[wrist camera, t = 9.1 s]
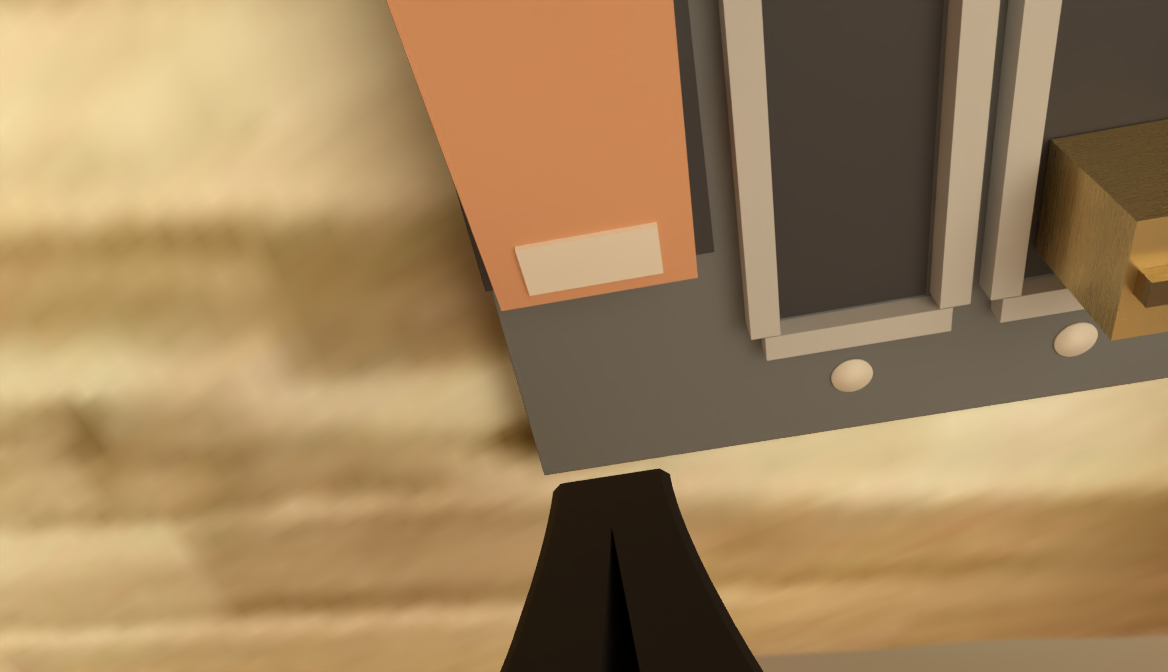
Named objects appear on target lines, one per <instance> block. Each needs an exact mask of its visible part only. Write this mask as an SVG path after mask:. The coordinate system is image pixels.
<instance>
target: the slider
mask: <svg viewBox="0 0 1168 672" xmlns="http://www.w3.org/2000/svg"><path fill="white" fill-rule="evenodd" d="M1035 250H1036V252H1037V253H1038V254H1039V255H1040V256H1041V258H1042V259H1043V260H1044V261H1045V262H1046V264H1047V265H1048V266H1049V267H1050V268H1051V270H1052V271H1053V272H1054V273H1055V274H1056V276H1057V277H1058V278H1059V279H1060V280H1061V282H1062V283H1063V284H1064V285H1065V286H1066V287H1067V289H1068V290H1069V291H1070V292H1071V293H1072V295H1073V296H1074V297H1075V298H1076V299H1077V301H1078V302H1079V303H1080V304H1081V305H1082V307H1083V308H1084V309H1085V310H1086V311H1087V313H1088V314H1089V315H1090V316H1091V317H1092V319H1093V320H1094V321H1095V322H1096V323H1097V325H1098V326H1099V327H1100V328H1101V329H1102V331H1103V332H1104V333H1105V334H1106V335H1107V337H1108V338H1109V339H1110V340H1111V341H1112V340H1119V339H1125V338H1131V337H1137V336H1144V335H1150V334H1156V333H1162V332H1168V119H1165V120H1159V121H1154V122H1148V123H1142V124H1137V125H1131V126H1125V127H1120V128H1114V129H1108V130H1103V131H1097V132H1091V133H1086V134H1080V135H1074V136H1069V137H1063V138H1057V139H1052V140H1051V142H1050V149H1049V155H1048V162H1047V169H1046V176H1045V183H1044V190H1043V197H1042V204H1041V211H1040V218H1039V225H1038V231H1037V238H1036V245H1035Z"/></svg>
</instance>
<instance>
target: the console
mask: <svg viewBox="0 0 1168 672" xmlns="http://www.w3.org/2000/svg"><path fill="white" fill-rule="evenodd" d="M673 3H674V15H675V26H676V37H677V48H678V60H679V71H680V82H681V93H682V105H683V116H684V127H685V138H686V150H687V161H688V172H689V183H690V195H691V206H692V217H693V228H694V240H695V251H696V262H697V273H698V278H693V279H688V280H682V281H676V282H670V283H664V284H658V285H652V286H646V287H641V288H635V289H629V290H623V291H617V292H611V293H605V294H599V295H594V296H588V297H582V298H576V299H570V300H564V301H558V302H553V303H547V304H541V305H535V306H529V307H523V308H517V309H511V310H506V311H501V308H500V305H499V303H498V300H497V297H496V295H495V292H494V289H493V287H492V284H491V281H490V278H489V276H488V273H487V270H486V268H485V265H484V262H483V260H482V257H481V254H480V251H479V249H478V246H477V243H476V241H475V238H474V235H473V233H472V230H471V227H470V225H469V222H468V219H467V216H466V214H465V211H464V208H463V206H462V203H461V200H460V198H459V195H458V192H457V189H456V192H457V195H458V199H459V202H460V205H461V209H462V212H463V216H464V219H465V222H466V226H467V229H468V233H469V236H470V240H471V243H472V246H473V250H474V253H475V257H476V260H477V263H478V267H479V270H480V274H481V277H482V280H483V284H484V287H485V291H491V292H492V295H493V298H494V302H495V305H496V309H497V312H498V316H499V319H500V323H501V326H502V330H503V333H504V337H505V340H506V343H507V347H508V350H509V354H510V357H511V361H512V364H513V368H514V371H515V375H516V378H517V382H518V385H519V388H520V392H521V395H522V399H523V402H524V406H525V409H526V413H527V416H528V420H529V423H530V427H531V430H532V433H533V437H534V440H535V444H536V447H537V451H538V454H539V458H540V461H541V465H542V468H543V472H544V475H550V474H556V473H562V472H569V471H575V470H582V469H588V468H594V467H601V466H607V465H613V464H620V463H626V462H633V461H639V460H645V459H652V458H658V457H665V456H671V455H677V454H684V453H690V452H696V451H703V450H709V449H716V448H722V447H728V446H735V445H741V444H747V443H754V442H760V441H767V440H773V439H779V438H786V437H792V436H799V435H805V434H811V433H818V432H824V431H830V430H837V429H843V428H850V427H856V426H862V425H869V424H875V423H881V422H888V421H894V420H901V419H907V418H913V417H920V416H926V415H933V414H939V413H945V412H952V411H958V410H964V409H971V408H977V407H984V406H990V405H996V404H1003V403H1009V402H1015V401H1022V400H1028V399H1035V398H1041V397H1047V396H1054V395H1060V394H1067V393H1073V392H1079V391H1086V390H1092V389H1098V388H1105V387H1111V386H1118V385H1124V384H1130V383H1137V382H1143V381H1149V380H1156V379H1162V378H1168V332H1162V333H1156V334H1150V335H1144V336H1137V337H1131V338H1125V339H1119V340H1112V341H1111V340H1110V339H1109V338H1108V337H1107V335H1106V334H1105V333H1104V332H1103V331H1102V329H1101V328H1100V327H1099V326H1098V325H1097V323H1096V322H1095V321H1094V320H1093V319H1092V317H1091V316H1090V315H1089V314H1088V313H1087V311H1086V310H1085V309H1084V308H1083V307H1082V305H1081V304H1080V303H1079V302H1078V301H1077V299H1076V298H1075V297H1074V296H1073V295H1072V293H1071V292H1070V291H1069V290H1068V289H1067V287H1066V286H1065V285H1064V284H1063V283H1062V282H1061V280H1060V279H1059V278H1058V277H1057V276H1056V274H1055V273H1054V272H1053V271H1052V270H1051V268H1050V267H1049V266H1048V265H1047V264H1046V262H1045V261H1044V260H1043V259H1042V258H1041V256H1040V255H1039V254H1038V253H1037V252H1036V250H1035V245H1036V238H1037V231H1038V225H1039V218H1040V211H1041V204H1042V197H1043V190H1044V183H1045V176H1046V169H1047V162H1048V155H1049V149H1050V142H1051V140H1052V139H1057V138H1063V137H1069V136H1074V135H1080V134H1086V133H1091V132H1097V131H1103V130H1108V129H1114V128H1120V127H1125V126H1131V125H1137V124H1142V123H1148V122H1154V121H1159V120H1165V119H1168V0H673ZM453 182H454V181H453ZM454 185H455V184H454ZM455 188H456V187H455Z"/></svg>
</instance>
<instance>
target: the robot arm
mask: <svg viewBox="0 0 1168 672" xmlns="http://www.w3.org/2000/svg"><path fill="white" fill-rule="evenodd" d="M500 672H763V670H762V669H761V667H760V666H759V664H758V662H757V661H756V659H755V657H754V656H753V654H752V653H751V651H750V649H749V648H748V646H747V644H746V643H745V641H744V639H743V638H742V636H741V634H740V632H739V631H738V629H737V627H736V626H735V624H734V622H733V620H732V618H731V617H730V615H729V613H728V611H727V609H726V607H725V606H724V604H723V602H722V600H721V598H720V596H719V594H718V593H717V591H716V589H715V587H714V585H713V583H712V582H711V580H710V578H709V576H708V574H707V572H706V570H705V568H704V566H703V564H702V562H701V559H700V557H699V555H698V553H697V551H696V548H695V546H694V544H693V542H692V539H691V537H690V535H689V533H688V530H687V528H686V525H685V523H684V520H683V518H682V515H681V512H680V510H679V507H678V504H677V501H676V497H675V494H674V491H673V487H672V483H671V478H670V474H669V473H667V472H665V471H663V470H661V469H654V470H647V471H641V472H634V473H627V474H621V475H614V476H608V477H601V478H595V479H588V480H582V481H575V482H569V483H562V484H560V485H559V486H558V487H557V488H556V489H555V490H554V492H553V497H552V503H551V509H550V514H549V519H548V524H547V528H546V532H545V537H544V541H543V544H542V548H541V552H540V556H539V559H538V563H537V566H536V570H535V573H534V576H533V580H532V583H531V587H530V590H529V593H528V596H527V598H526V601H525V604H524V607H523V610H522V613H521V616H520V619H519V622H518V625H517V628H516V631H515V634H514V637H513V640H512V643H511V646H510V648H509V651H508V654H507V656H506V659H505V661H504V664H503V666H502V669H501V671H500Z"/></svg>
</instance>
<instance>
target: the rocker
mask: <svg viewBox="0 0 1168 672" xmlns="http://www.w3.org/2000/svg"><path fill="white" fill-rule="evenodd" d="M386 1H387V3H388V6H389V9H390V12H391V14H392V17H393V20H394V22H395V25H396V28H397V30H398V33H399V36H400V39H401V41H402V44H403V47H404V49H405V52H406V55H407V57H408V60H409V63H410V65H411V68H412V71H413V74H414V76H415V79H416V82H417V84H418V87H419V90H420V92H421V95H422V98H423V101H424V103H425V106H426V109H427V111H428V114H429V117H430V119H431V122H432V125H433V127H434V130H435V133H436V136H437V138H438V141H439V144H440V146H441V149H442V152H443V154H444V157H445V160H446V163H447V165H448V168H449V171H450V173H451V176H452V179H453V181H454V184H455V187H456V189H457V192H458V195H459V198H460V200H461V203H462V206H463V208H464V211H465V214H466V216H467V219H468V222H469V225H470V227H471V230H472V233H473V235H474V238H475V241H476V243H477V246H478V249H479V251H480V254H481V257H482V260H483V262H484V265H485V268H486V270H487V273H488V276H489V278H490V281H491V284H492V287H493V289H494V292H495V295H496V297H497V300H498V303H499V305H500V308H501V311H506V310H511V309H517V308H523V307H529V306H535V305H541V304H547V303H553V302H558V301H564V300H570V299H576V298H582V297H588V296H594V295H599V294H605V293H611V292H617V291H623V290H629V289H635V288H641V287H646V286H652V285H658V284H664V283H670V282H676V281H682V280H688V279H693V278H698V273H697V262H696V251H695V240H694V228H693V217H692V206H691V195H690V183H689V172H688V161H687V150H686V138H685V127H684V116H683V105H682V93H681V82H680V71H679V60H678V48H677V37H676V26H675V15H674V3H673V0H386Z"/></svg>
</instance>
